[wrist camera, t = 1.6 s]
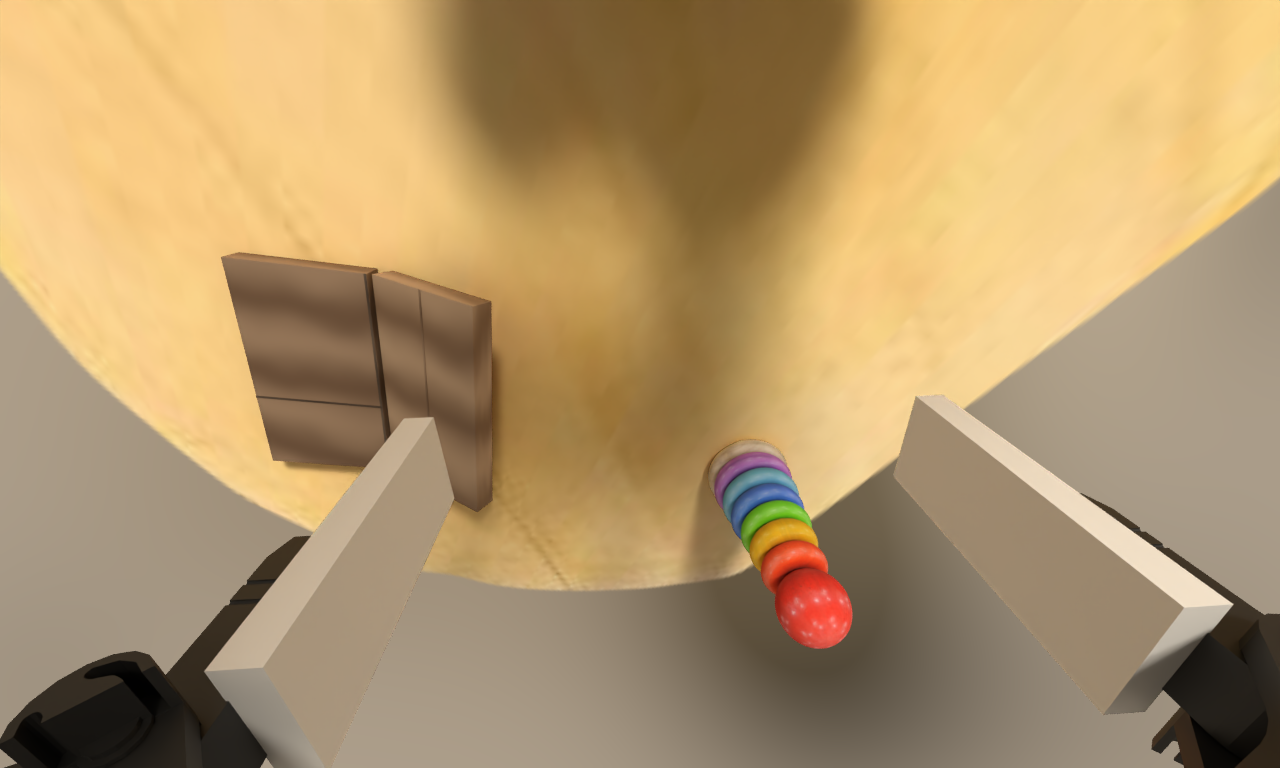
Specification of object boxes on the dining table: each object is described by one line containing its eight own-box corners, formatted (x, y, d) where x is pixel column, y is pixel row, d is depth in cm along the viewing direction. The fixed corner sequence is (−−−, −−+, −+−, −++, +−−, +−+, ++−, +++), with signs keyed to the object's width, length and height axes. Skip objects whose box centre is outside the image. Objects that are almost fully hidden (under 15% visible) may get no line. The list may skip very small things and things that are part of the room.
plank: (393, 271, 36) (371, 274, 34) (491, 301, 32) (471, 306, 31) (411, 459, 44) (394, 468, 42) (492, 500, 40) (476, 512, 39)
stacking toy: (745, 510, 49) (815, 692, 32) (690, 475, 47) (735, 653, 30) (799, 461, 47) (906, 631, 30) (744, 421, 44) (826, 582, 27)
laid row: (238, 252, 35) (220, 257, 33) (377, 268, 36) (365, 273, 34) (285, 448, 43) (272, 460, 41) (398, 457, 44) (390, 469, 42)
